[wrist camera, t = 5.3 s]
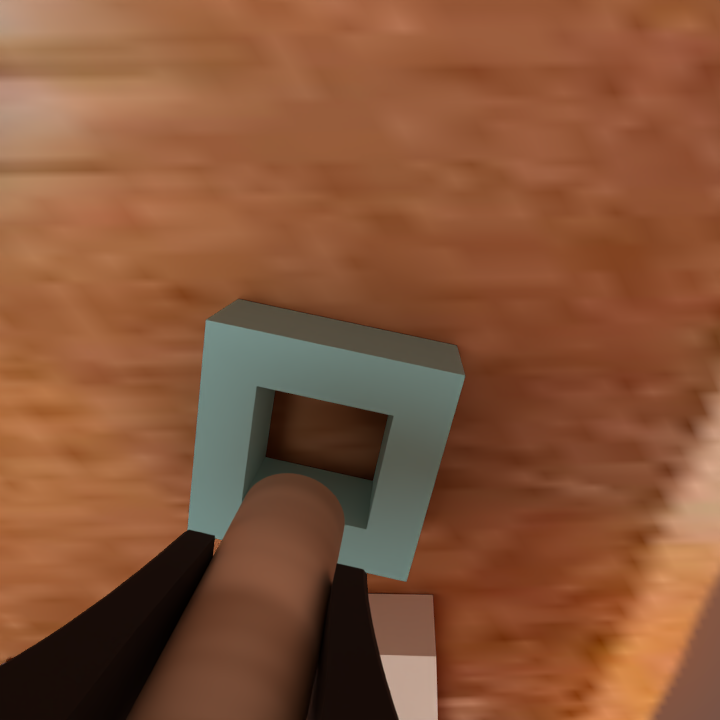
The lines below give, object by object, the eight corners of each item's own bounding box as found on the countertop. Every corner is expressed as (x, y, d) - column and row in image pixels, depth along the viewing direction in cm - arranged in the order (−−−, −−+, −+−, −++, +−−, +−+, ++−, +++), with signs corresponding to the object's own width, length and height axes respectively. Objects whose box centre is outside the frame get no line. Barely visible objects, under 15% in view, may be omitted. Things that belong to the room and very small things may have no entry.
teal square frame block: (407, 527, 20) (406, 581, 18) (218, 485, 21) (187, 531, 18) (456, 345, 18) (465, 375, 15) (238, 298, 18) (205, 319, 15)
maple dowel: (333, 571, 14) (240, 1032, 6) (236, 547, 14) (27, 975, 6) (354, 487, 13) (273, 913, 5) (249, 462, 13) (22, 847, 5)
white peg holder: (436, 726, 24) (440, 798, 21) (275, 718, 25) (257, 786, 22) (432, 594, 21) (436, 656, 19) (252, 591, 22) (229, 649, 20)
